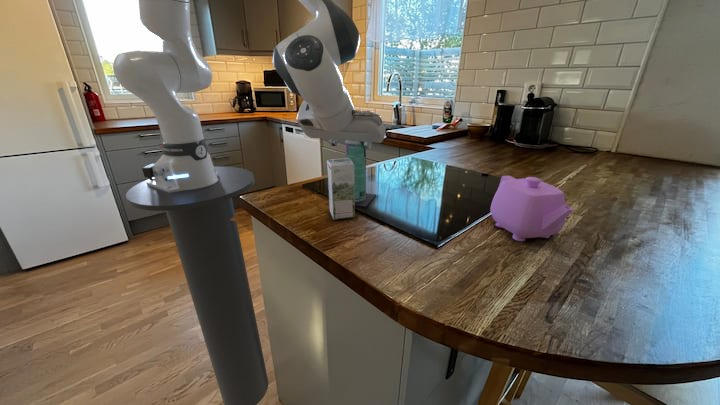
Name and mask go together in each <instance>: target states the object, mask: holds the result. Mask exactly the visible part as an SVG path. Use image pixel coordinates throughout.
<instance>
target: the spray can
mask: <svg viewBox="0 0 720 405" xmlns="http://www.w3.org/2000/svg"><path fill="white" fill-rule="evenodd" d="M364 143H365V142H361V141H347V140H345V158H349V159H350V160H351V161H352V162H353V164H354V191H355V202H361V201H364V200H365V199H366V194H367V149H365V148H364V146H363V145H364Z"/></svg>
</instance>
